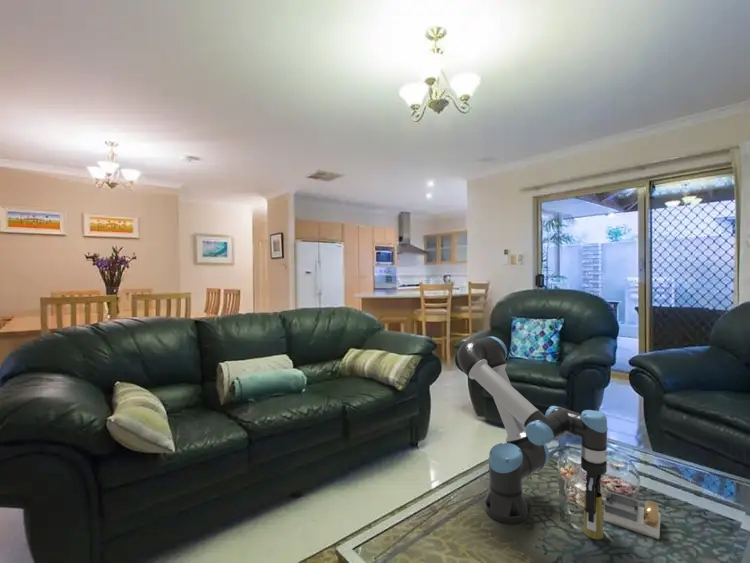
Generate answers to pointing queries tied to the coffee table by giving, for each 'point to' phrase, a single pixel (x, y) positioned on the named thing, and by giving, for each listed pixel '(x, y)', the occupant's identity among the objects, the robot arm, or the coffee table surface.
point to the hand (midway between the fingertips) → (593, 523)
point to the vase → (599, 519)
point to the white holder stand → (632, 514)
